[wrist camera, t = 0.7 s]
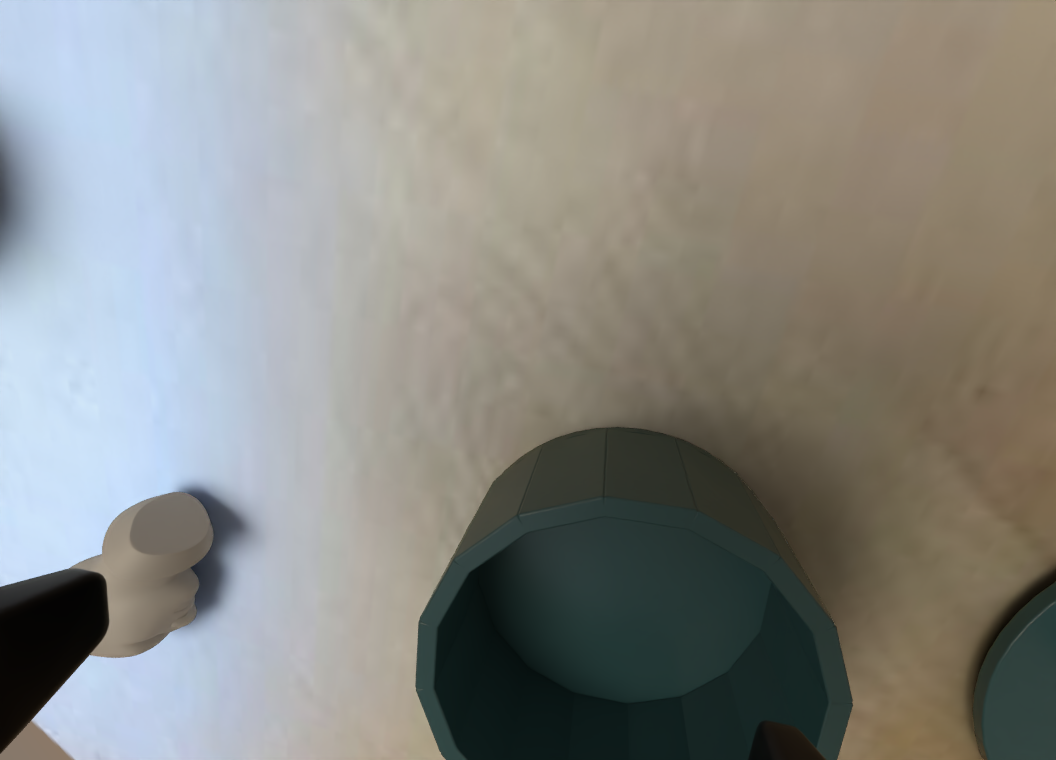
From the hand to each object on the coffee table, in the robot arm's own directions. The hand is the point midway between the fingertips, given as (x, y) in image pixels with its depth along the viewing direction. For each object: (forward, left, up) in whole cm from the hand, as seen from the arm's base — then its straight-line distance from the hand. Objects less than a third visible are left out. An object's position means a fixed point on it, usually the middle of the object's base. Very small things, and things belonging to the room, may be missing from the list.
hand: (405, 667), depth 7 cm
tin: (-6, -4, -13) cm, 15 cm away
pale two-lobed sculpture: (-9, +15, -13) cm, 22 cm away
